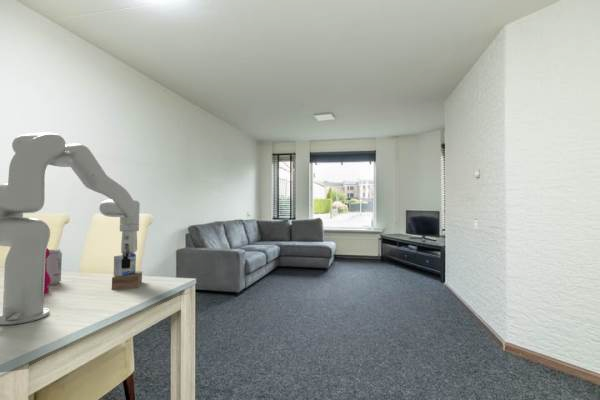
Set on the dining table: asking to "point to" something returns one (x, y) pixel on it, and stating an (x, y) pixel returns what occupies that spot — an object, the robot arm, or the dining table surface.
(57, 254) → the grey upright box
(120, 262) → the medicine box
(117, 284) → the walnut plinth
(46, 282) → the pepper mill
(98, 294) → the dining table surface
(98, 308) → the dining table surface
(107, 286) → the dining table surface
